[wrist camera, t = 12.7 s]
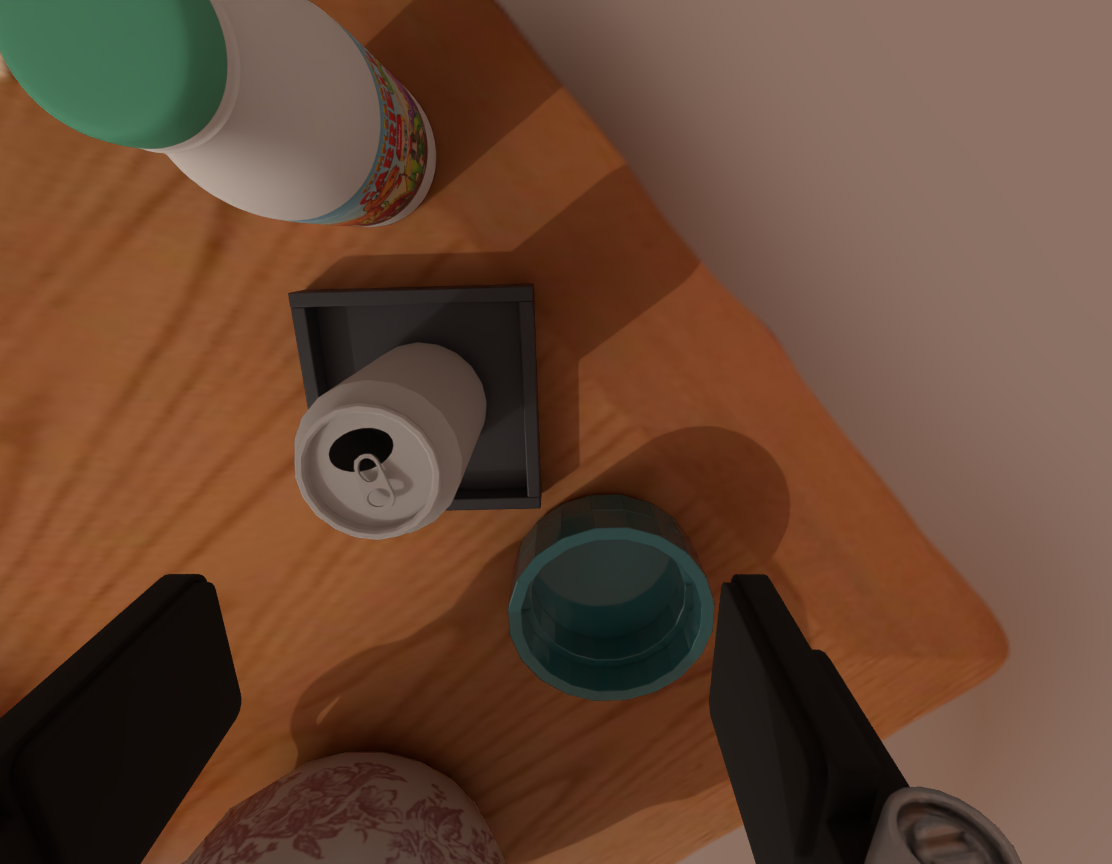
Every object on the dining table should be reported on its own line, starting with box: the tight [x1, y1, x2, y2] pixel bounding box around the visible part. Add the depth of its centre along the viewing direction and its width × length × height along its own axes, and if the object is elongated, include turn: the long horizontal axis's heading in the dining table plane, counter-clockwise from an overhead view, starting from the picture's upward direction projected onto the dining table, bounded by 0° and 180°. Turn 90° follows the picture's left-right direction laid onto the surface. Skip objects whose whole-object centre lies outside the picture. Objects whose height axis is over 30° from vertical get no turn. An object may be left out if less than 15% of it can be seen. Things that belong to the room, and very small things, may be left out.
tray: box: [288, 284, 542, 510], centre depth 35 cm, size 14×14×2 cm
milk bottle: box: [0, 0, 436, 227], centre depth 22 cm, size 8×8×20 cm
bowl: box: [508, 494, 715, 701], centre depth 38 cm, size 13×13×5 cm
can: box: [295, 342, 487, 540], centre depth 30 cm, size 8×8×12 cm
